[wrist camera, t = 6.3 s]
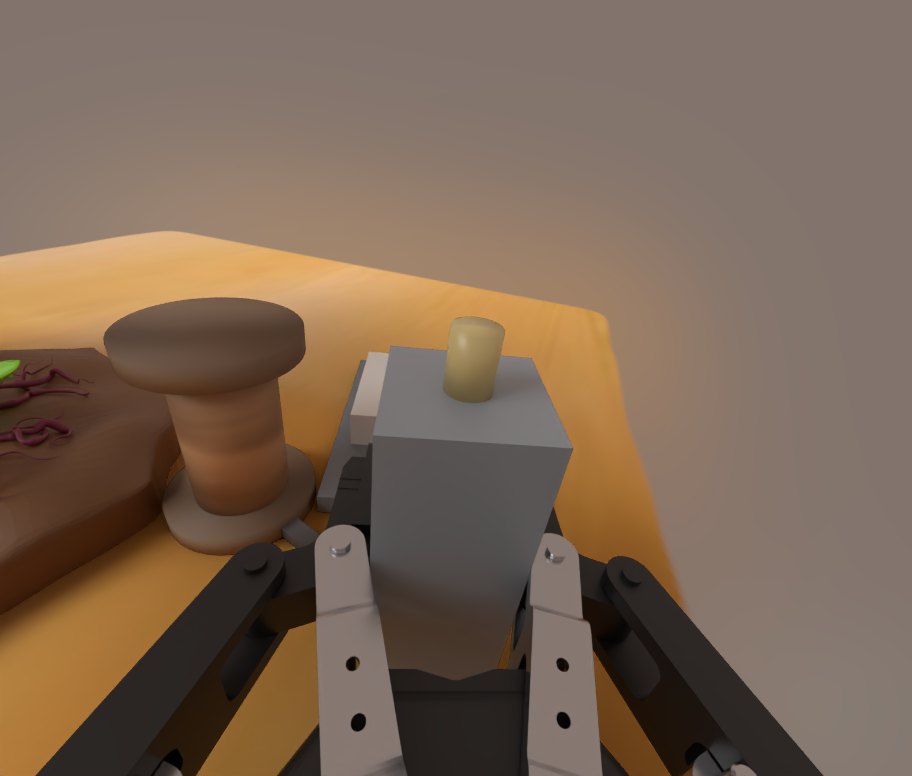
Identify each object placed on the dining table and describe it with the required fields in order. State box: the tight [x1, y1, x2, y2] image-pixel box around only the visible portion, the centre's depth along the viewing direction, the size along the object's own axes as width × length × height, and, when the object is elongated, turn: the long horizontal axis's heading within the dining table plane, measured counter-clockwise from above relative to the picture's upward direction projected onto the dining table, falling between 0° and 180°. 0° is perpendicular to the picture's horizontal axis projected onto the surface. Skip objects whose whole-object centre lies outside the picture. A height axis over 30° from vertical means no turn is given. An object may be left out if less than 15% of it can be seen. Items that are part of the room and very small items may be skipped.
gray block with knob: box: [370, 317, 573, 680], centre depth 12 cm, size 4×4×13 cm
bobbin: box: [104, 298, 320, 555], centre depth 16 cm, size 10×6×9 cm, turn 33°
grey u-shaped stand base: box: [317, 352, 389, 512], centre depth 25 cm, size 14×11×3 cm
